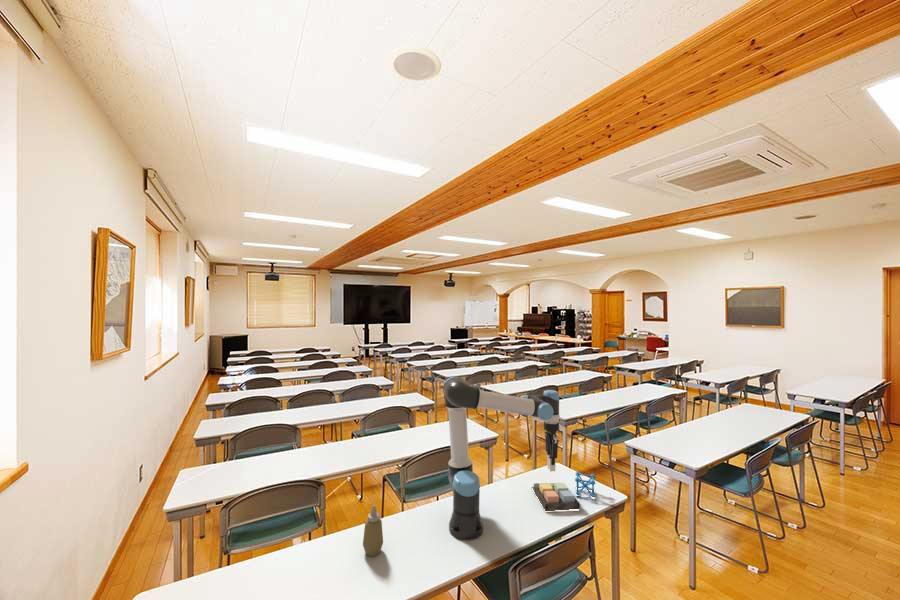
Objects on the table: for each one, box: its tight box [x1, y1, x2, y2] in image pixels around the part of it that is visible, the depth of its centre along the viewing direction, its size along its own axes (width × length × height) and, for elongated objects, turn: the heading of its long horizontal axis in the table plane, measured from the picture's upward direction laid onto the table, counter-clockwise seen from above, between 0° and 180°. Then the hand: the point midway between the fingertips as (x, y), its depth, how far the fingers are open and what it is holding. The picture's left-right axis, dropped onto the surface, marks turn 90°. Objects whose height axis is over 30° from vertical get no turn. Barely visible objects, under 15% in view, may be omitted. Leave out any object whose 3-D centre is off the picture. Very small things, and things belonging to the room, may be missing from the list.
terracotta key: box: [544, 491, 559, 503], centre depth 181 cm, size 6×6×3 cm
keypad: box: [531, 482, 581, 512], centre depth 188 cm, size 17×23×4 cm
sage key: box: [553, 482, 569, 494], centre depth 189 cm, size 6×6×3 cm
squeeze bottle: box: [362, 504, 384, 557], centre depth 146 cm, size 8×8×18 cm
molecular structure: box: [574, 471, 596, 498], centre depth 194 cm, size 10×10×10 cm
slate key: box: [560, 489, 576, 502], centre depth 181 cm, size 6×6×3 cm
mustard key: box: [539, 482, 553, 495], centre depth 189 cm, size 6×6×3 cm
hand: (551, 469), depth 181 cm, fingers open, 2 cm apart
